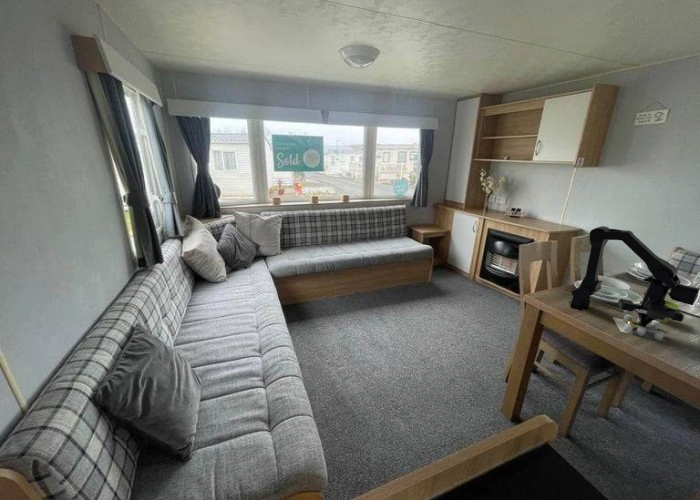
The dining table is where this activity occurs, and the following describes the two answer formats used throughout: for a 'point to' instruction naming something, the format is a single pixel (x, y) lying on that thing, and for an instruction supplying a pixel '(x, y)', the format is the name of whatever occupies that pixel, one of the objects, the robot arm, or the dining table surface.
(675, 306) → the plant pot
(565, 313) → the dining table surface
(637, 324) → the brass knob
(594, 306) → the dining table surface
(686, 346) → the dining table surface
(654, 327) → the board
